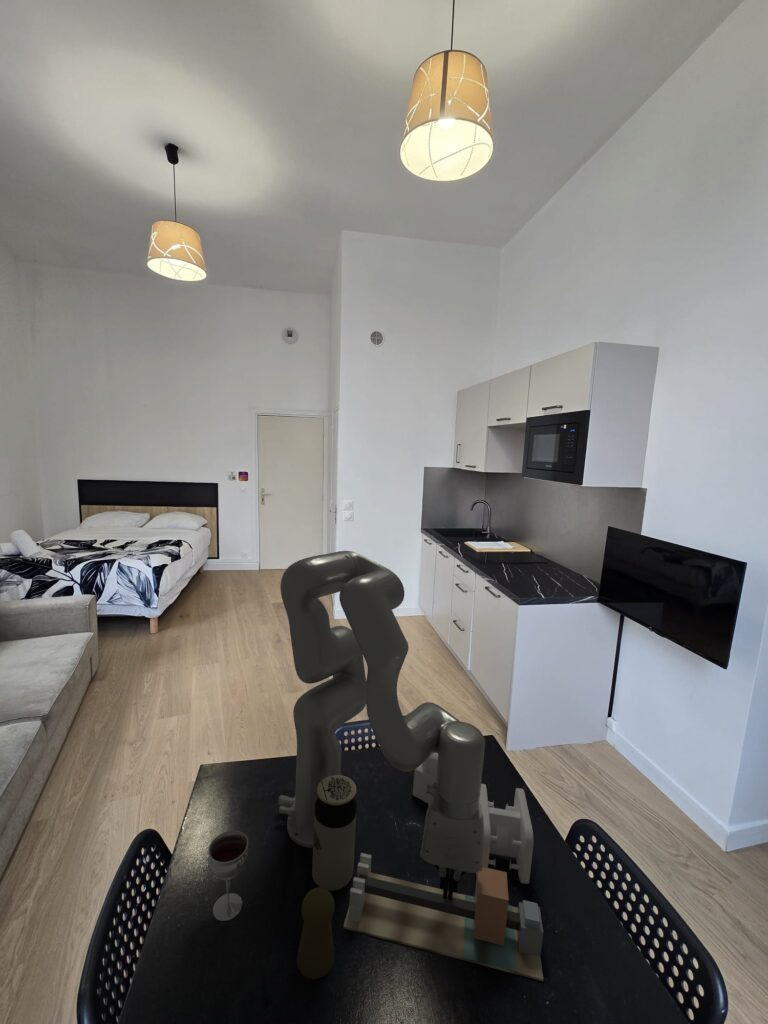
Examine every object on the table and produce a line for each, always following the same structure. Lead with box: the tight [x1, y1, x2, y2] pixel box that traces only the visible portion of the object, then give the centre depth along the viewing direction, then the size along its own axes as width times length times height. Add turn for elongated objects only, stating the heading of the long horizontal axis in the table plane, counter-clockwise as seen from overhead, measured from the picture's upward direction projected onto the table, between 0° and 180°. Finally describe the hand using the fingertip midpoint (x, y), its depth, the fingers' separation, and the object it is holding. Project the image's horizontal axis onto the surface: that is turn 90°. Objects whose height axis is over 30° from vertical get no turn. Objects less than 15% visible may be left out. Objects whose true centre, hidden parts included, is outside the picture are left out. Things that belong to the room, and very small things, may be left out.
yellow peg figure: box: [296, 886, 336, 980], centre depth 72 cm, size 6×6×11 cm
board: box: [343, 872, 544, 982], centre depth 80 cm, size 33×11×1 cm, turn 79°
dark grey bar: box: [359, 875, 520, 931], centre depth 80 cm, size 30×2×2 cm, turn 79°
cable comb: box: [348, 852, 372, 922], centre depth 83 cm, size 2×8×6 cm, turn 169°
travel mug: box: [311, 774, 358, 891], centre depth 87 cm, size 8×8×18 cm
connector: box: [517, 899, 544, 957], centre depth 77 cm, size 4×4×6 cm
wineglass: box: [207, 830, 250, 922], centre depth 80 cm, size 7×7×12 cm
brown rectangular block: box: [473, 867, 510, 946], centre depth 78 cm, size 5×5×9 cm
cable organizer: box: [475, 783, 535, 885], centre depth 93 cm, size 15×11×12 cm
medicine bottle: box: [412, 753, 438, 805], centre depth 109 cm, size 7×7×12 cm
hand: (447, 891), depth 79 cm, fingers closed
